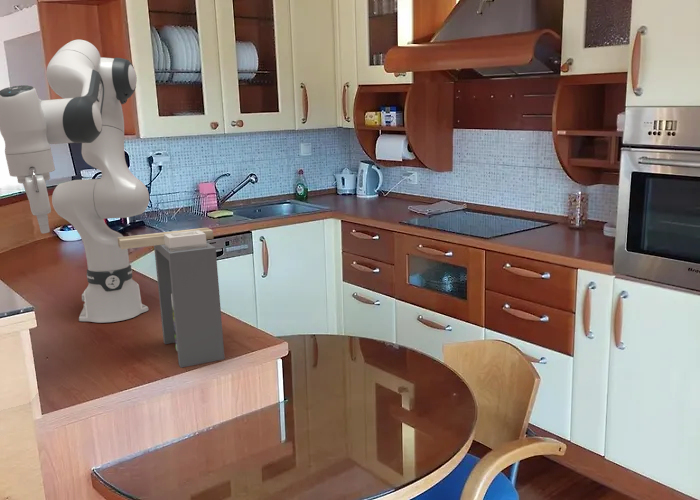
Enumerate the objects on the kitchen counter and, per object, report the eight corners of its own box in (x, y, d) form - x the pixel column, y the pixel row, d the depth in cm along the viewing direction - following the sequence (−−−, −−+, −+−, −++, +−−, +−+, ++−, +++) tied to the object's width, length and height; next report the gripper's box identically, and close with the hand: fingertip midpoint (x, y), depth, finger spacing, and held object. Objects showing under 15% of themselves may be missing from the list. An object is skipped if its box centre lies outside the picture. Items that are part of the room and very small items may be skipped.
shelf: (163, 341, 165) (153, 239, 160) (203, 334, 170) (194, 234, 164) (180, 367, 148) (169, 253, 143) (224, 359, 152) (215, 247, 147)
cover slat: (118, 245, 154) (117, 237, 153) (208, 235, 162) (207, 227, 162) (121, 249, 149) (120, 240, 149) (213, 238, 158) (212, 230, 158)
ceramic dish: (165, 247, 150) (163, 234, 149) (200, 242, 153) (199, 230, 153) (170, 251, 145) (169, 238, 144) (206, 247, 148) (205, 233, 147)
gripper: (50, 168, 133) (63, 235, 136) (44, 158, 150) (56, 218, 154) (15, 172, 130) (30, 240, 134) (14, 162, 148) (27, 222, 152)
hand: (44, 228), depth 144 cm, fingers open, 8 cm apart
